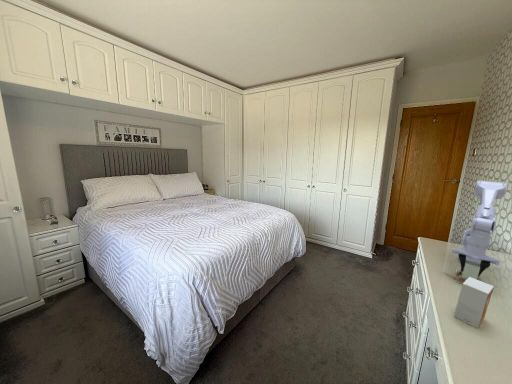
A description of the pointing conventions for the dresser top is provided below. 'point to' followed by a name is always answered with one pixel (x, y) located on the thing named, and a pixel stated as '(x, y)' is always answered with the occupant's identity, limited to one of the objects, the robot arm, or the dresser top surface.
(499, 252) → the dresser top surface
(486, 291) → the small box
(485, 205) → the robot arm
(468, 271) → the finger block
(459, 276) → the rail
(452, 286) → the dresser top surface
